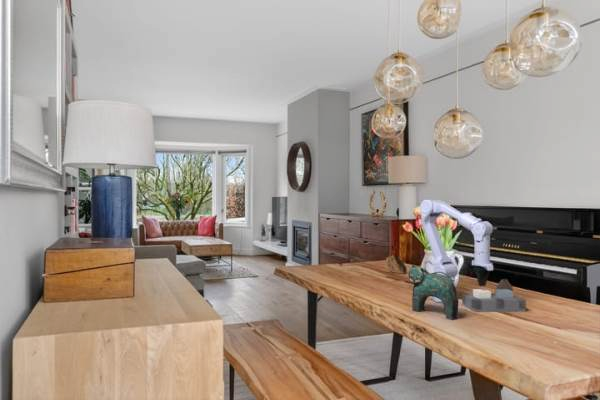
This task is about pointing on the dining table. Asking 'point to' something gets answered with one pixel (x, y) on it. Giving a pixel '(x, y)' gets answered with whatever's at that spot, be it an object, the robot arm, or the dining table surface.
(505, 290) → the slate key
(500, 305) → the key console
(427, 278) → the ceramic cat
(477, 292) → the white block
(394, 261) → the decorative rock
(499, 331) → the dining table surface
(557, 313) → the dining table surface
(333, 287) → the dining table surface
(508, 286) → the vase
